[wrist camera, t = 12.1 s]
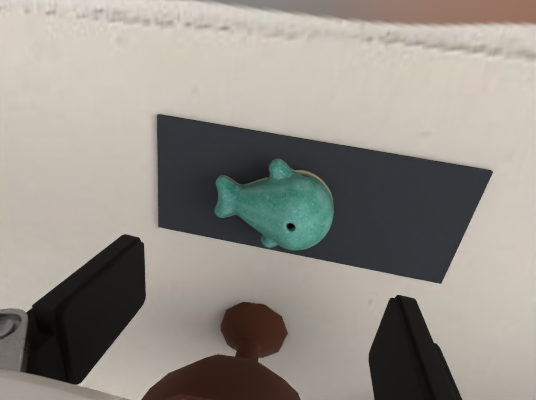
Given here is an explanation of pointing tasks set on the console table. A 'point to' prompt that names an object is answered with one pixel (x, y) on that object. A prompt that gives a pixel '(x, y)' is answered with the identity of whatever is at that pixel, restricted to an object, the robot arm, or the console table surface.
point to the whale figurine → (280, 206)
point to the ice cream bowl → (233, 363)
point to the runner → (342, 190)
